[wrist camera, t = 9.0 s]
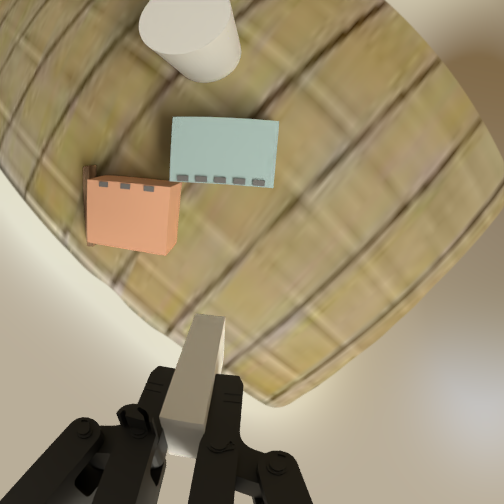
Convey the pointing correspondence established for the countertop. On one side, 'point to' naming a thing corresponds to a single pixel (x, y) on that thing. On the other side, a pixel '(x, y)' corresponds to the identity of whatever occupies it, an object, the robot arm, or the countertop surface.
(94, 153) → the countertop surface
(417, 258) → the countertop surface
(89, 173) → the rail
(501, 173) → the countertop surface
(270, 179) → the pale teal block
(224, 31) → the cup
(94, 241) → the stub
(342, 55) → the countertop surface
